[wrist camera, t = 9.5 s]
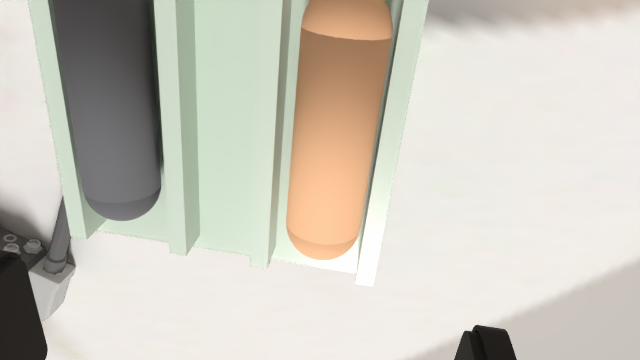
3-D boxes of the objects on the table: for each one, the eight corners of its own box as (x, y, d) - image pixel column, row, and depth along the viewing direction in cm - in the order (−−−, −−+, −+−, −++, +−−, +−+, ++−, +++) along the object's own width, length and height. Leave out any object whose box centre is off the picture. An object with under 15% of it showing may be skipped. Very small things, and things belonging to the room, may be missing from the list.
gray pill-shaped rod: (79, -64, 22) (18, -67, 18) (160, -55, 21) (115, -56, 18) (111, 193, 28) (71, 228, 25) (174, 203, 28) (143, 240, 24)
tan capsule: (309, -27, 21) (299, -22, 17) (396, -18, 21) (404, -10, 17) (289, 228, 27) (278, 270, 24) (355, 237, 27) (355, 280, 24)
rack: (51, -140, 21) (-1, -154, 18) (441, -100, 20) (449, -109, 17) (102, 222, 30) (73, 250, 28) (372, 266, 29) (370, 300, 26)
